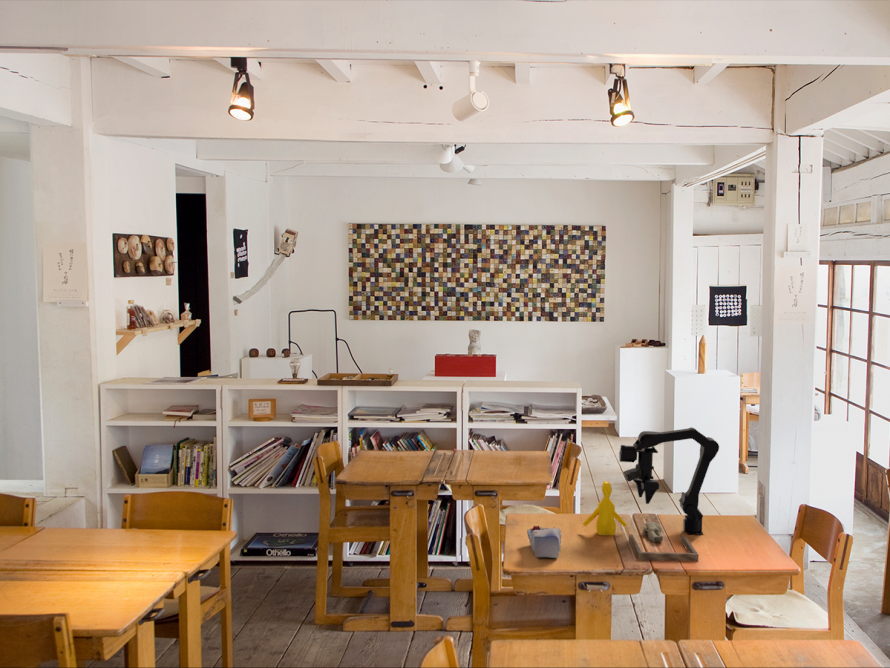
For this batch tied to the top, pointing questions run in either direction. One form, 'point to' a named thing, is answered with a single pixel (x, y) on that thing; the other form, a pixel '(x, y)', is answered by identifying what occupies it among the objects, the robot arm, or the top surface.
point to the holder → (666, 556)
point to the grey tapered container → (545, 541)
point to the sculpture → (652, 531)
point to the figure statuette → (605, 514)
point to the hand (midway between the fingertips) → (643, 500)
